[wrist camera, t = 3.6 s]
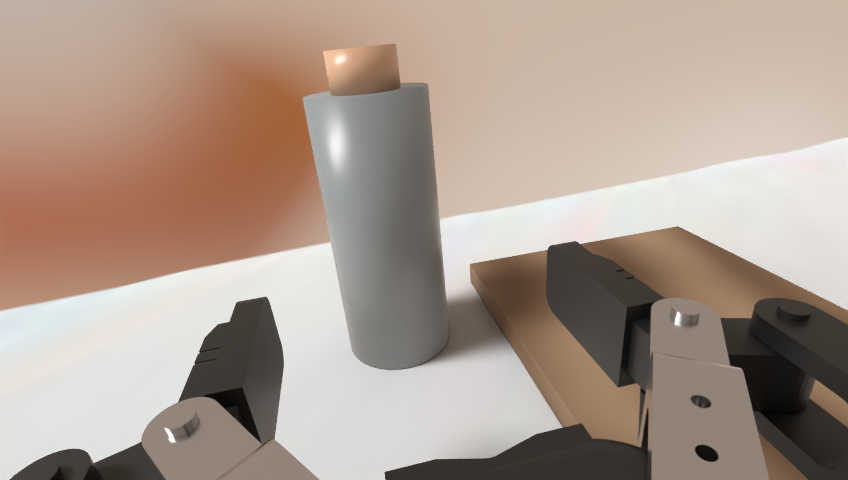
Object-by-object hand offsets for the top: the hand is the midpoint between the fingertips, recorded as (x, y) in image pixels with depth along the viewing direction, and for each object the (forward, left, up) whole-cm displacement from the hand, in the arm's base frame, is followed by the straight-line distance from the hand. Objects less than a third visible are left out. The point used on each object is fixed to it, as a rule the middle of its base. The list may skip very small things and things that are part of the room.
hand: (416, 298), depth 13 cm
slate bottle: (0, -8, -7) cm, 11 cm away
